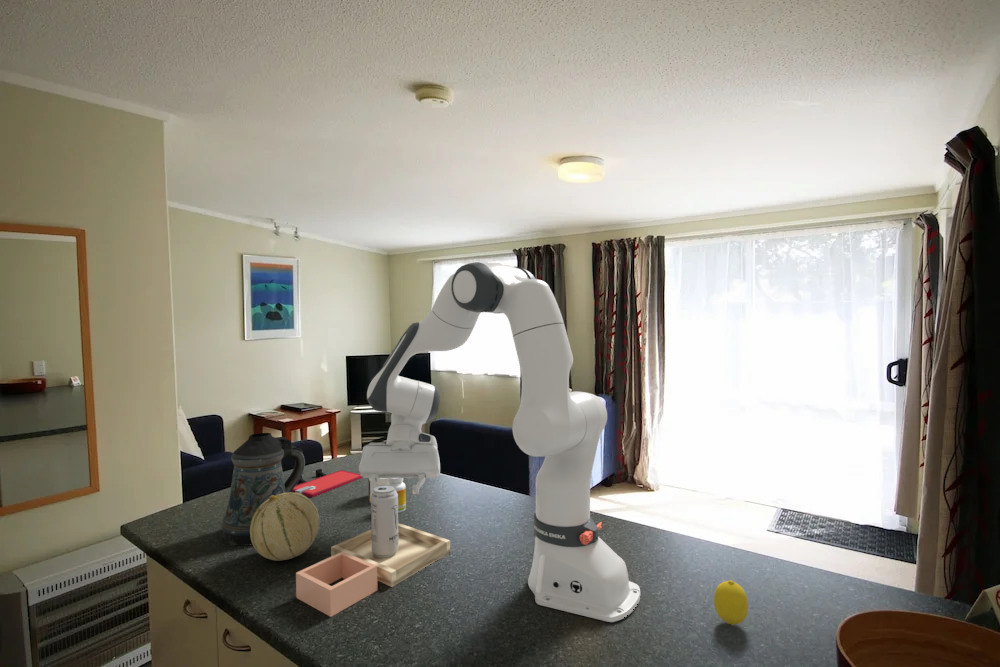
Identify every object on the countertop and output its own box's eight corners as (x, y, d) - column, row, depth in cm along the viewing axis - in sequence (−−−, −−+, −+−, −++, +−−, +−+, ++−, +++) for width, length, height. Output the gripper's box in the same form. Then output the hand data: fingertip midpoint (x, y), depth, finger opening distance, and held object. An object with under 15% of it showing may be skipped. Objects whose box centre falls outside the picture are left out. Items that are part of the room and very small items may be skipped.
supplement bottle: (408, 506, 146) (407, 473, 146) (402, 514, 141) (402, 479, 141) (390, 506, 147) (389, 473, 147) (384, 513, 142) (383, 479, 141)
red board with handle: (258, 497, 155) (292, 507, 148) (258, 488, 155) (292, 497, 147) (333, 472, 181) (364, 479, 174) (333, 464, 181) (364, 471, 174)
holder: (377, 590, 102) (377, 565, 102) (330, 616, 93) (330, 590, 93) (343, 574, 108) (342, 551, 108) (296, 597, 99) (295, 572, 99)
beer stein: (205, 540, 125) (203, 440, 124) (265, 511, 143) (263, 424, 142) (258, 550, 120) (256, 445, 119) (313, 518, 138) (312, 428, 137)
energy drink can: (396, 558, 113) (395, 492, 112) (369, 559, 112) (368, 493, 112) (400, 546, 119) (399, 483, 118) (374, 547, 118) (373, 484, 118)
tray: (450, 553, 118) (450, 540, 117) (391, 587, 103) (391, 572, 103) (391, 532, 129) (391, 520, 129) (331, 560, 115) (331, 546, 114)
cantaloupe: (333, 552, 118) (332, 489, 118) (274, 579, 106) (273, 509, 106) (295, 537, 127) (294, 478, 126) (237, 561, 114) (235, 495, 114)
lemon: (738, 615, 93) (738, 572, 92) (754, 634, 87) (754, 588, 87) (708, 616, 92) (708, 573, 92) (722, 635, 87) (723, 589, 87)
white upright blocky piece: (368, 495, 156) (367, 456, 155) (392, 492, 158) (391, 454, 158) (369, 503, 149) (369, 463, 149) (394, 500, 151) (393, 461, 151)
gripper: (361, 436, 130) (350, 487, 120) (441, 436, 130) (436, 487, 120) (366, 448, 134) (356, 498, 125) (443, 449, 134) (438, 498, 125)
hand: (396, 493), depth 123 cm, fingers open, 8 cm apart
